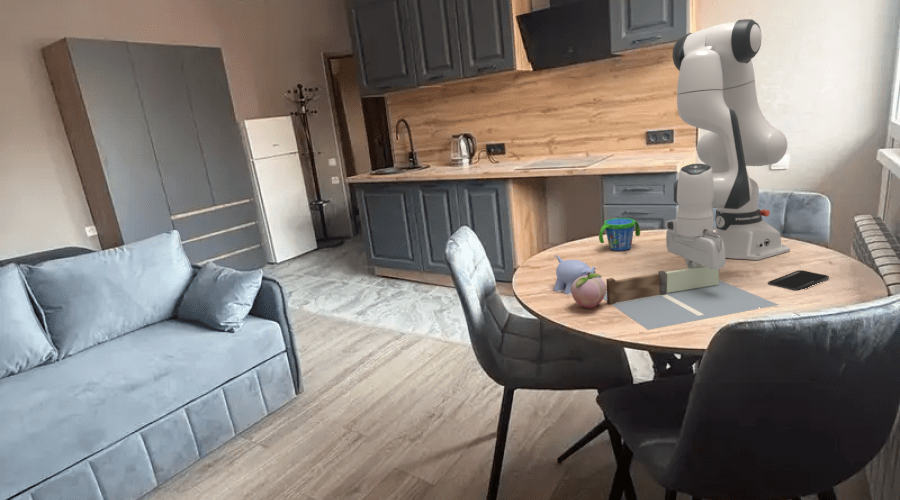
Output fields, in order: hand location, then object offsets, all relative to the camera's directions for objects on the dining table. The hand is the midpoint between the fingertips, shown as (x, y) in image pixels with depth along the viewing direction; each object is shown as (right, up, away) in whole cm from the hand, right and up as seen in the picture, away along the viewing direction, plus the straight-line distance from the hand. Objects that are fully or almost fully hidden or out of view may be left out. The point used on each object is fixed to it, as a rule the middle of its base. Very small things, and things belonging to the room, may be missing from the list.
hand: (693, 275), depth 136 cm
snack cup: (-5, +7, +43) cm, 44 cm away
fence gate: (-2, -3, -2) cm, 4 cm away
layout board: (-7, -6, -7) cm, 12 cm away
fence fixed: (-17, -6, -4) cm, 18 cm away
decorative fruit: (-30, -9, -6) cm, 32 cm away
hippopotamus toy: (-30, -5, +8) cm, 31 cm away
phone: (+26, -2, -4) cm, 26 cm away
